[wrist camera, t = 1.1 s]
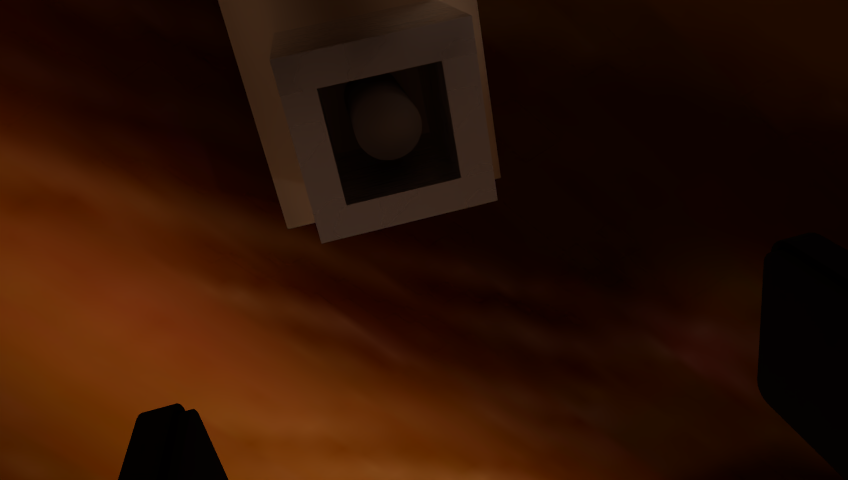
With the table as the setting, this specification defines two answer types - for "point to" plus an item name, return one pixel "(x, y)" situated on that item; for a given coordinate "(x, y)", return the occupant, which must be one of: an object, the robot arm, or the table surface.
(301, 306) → the table surface
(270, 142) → the peg stand
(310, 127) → the hollow square tube
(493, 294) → the table surface
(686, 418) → the table surface
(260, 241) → the table surface
